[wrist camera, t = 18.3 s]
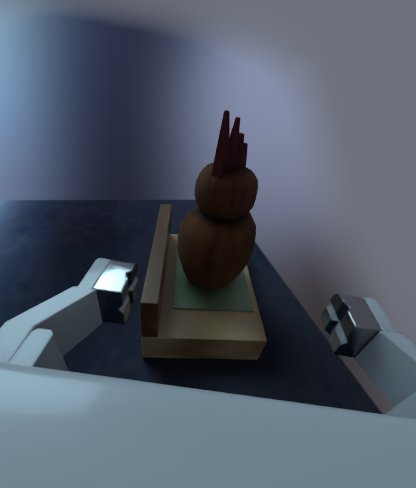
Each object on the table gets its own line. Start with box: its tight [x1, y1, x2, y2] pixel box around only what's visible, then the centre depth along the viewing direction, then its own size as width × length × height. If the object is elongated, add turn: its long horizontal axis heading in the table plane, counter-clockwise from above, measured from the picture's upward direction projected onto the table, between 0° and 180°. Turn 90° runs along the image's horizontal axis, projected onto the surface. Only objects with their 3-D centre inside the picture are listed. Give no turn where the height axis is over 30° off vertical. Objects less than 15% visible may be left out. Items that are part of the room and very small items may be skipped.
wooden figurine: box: [177, 110, 258, 289], centre depth 20 cm, size 7×6×15 cm
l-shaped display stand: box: [140, 204, 267, 360], centre depth 25 cm, size 10×14×7 cm
